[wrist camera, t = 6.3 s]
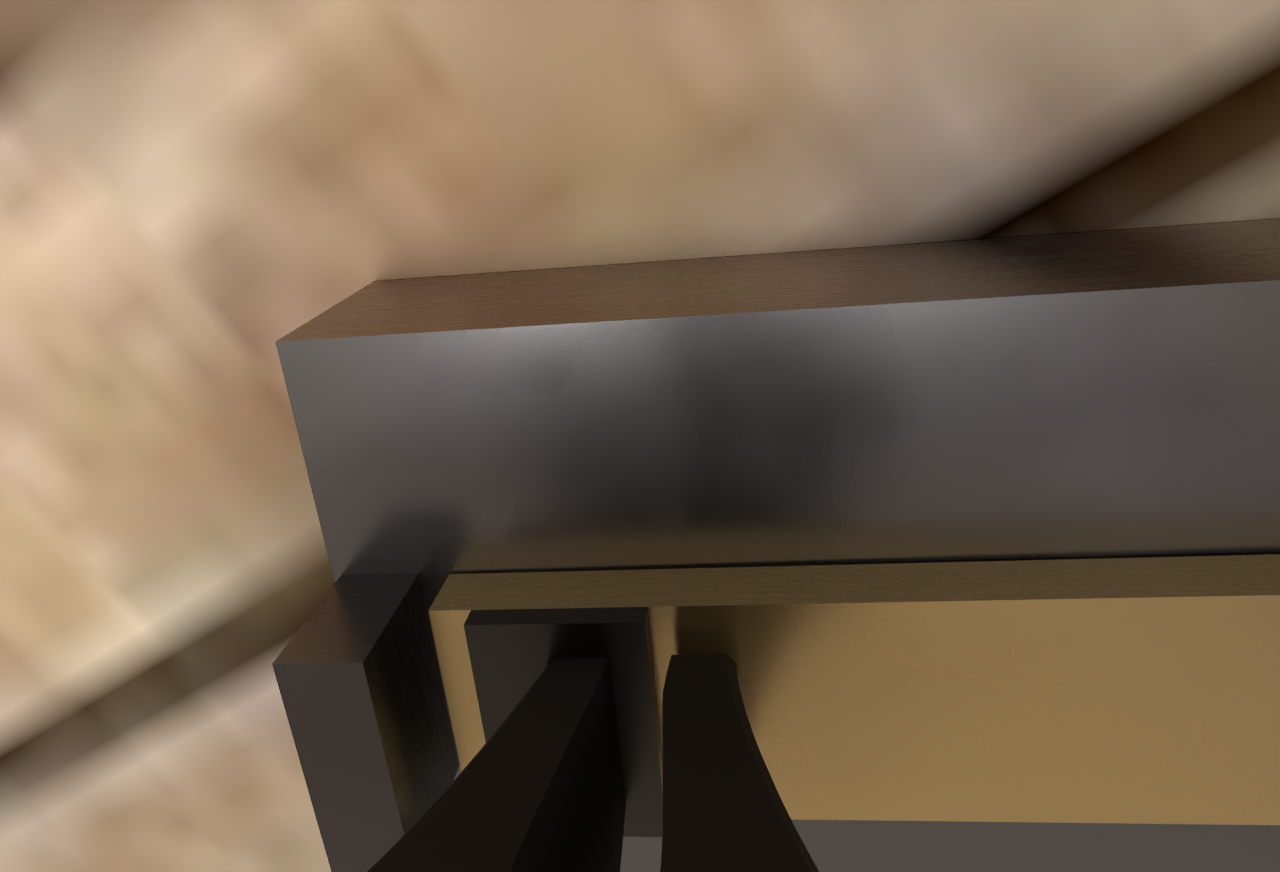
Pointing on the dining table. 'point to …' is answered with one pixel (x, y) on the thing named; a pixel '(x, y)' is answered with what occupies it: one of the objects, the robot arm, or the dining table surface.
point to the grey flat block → (773, 469)
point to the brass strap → (918, 681)
